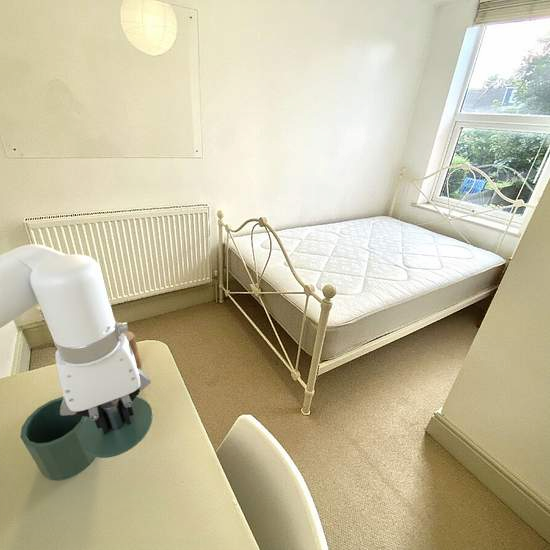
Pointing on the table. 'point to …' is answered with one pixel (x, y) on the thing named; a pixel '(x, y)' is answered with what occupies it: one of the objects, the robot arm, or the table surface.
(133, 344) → the brown cylinder
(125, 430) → the tin lid
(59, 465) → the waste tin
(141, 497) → the table surface
